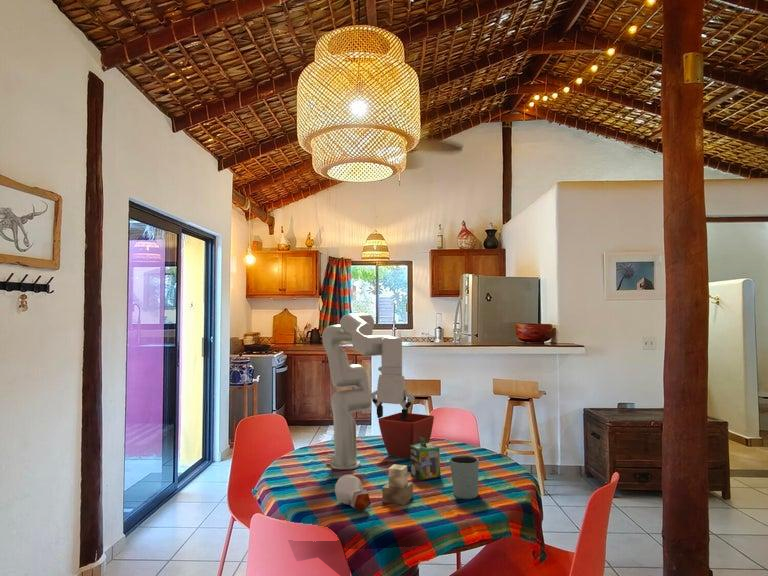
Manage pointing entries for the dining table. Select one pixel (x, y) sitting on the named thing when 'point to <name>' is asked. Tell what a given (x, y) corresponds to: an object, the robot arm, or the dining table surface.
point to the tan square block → (397, 494)
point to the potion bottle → (352, 492)
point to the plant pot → (404, 432)
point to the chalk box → (425, 460)
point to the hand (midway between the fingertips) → (392, 418)
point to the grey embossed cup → (465, 476)
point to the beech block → (398, 476)
